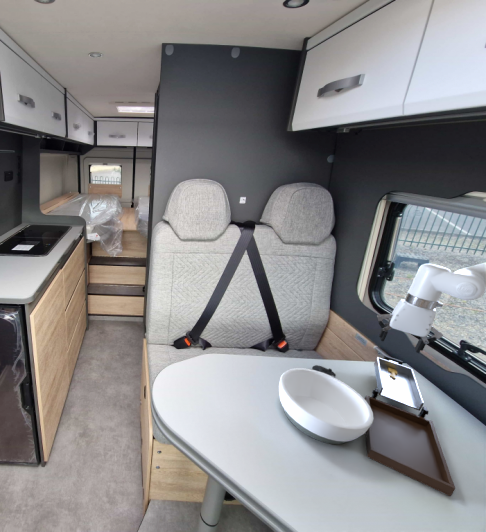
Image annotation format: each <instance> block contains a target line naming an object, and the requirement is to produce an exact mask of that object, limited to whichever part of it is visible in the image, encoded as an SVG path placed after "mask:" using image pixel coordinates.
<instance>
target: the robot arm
mask: <svg viewBox="0 0 486 532" xmlns="http://www.w3.org/2000/svg"><path fill="white" fill-rule="evenodd" d="M443 294H446V295H448V296H451V297H453V298H455V299H458V300H463V301H475V300H478V299H480V298H481V297H483V296H484V295H485V294H486V261H485V262H481V263H477V264H474V265H471V266H467V267H464V268H463V267H462V268H460V269H457V270H456V271H454V272H453V271H452V270H451V269H450V268H447V267H445V266H442V265H439V264H435V263H423V264H421V265H420V266H419V268H418V269H417V272H416V274H415V276H414V278H413V280H412V282H411V285H410V287H409V289H408V291H407V293H406V295H405V298H401V299H399V301H398V302H397V304H395V307H394V308H393V310H392V312H391V313H383V314H377V315H376V317H377V322H378V325H379V326H380V328H381V330H380V332H379V334H378V337H379V339H380V342H385V339H386V338H387V336H388V333H389V332H388V331H389V330H392V329H394V330H396V331H400V332H403V333H407V334H410V335H413V336H416V337H420V338H419V339H418V341H417V343H416V345H415V347H414V350H415V352H416V354H420V353H421V352H423V350H424V349H425V347H426V345H428V344H430V343H433V342H436V341H437V340H439V339H441V338H443V337H444V334H443V333H442V332H441V331H439V329H437V328H436V327H434V326H433V325H434V322H435V318H436V314H437V309H436V308H443V306H444V303H443V302H440V299H441V296H442V295H443ZM387 319H388V321H387V322H386V323H385V322H384V321H383V320H387ZM430 332H431V333H433V335H430V336H429V334H430Z"/></svg>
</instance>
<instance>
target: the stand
mask: <svg viewBox="0 0 486 532" xmlns="http://www.w3.org/2000/svg"><path fill="white" fill-rule="evenodd" d="M378 393H379V391H378V387H375V388H374V389H372V391H371V396H370V397H372V398H375V399H377V397H378V396H379V394H378ZM429 412H430V411H429V410H428V408H427V407H426V406H424V405H423V406H422V408H421V410H420V411H419V413H418V414H417V415H418V416H421V417H423V418H425V417H426V416H427V415H429Z"/></svg>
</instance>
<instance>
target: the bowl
mask: <svg viewBox="0 0 486 532" xmlns="http://www.w3.org/2000/svg"><path fill="white" fill-rule="evenodd" d="M278 394H279V401H280V403H281V407H282V409H283V412H284V414H285V416H286V417H287V419H288V420H289V421H290V423H292V425H293V426H294V427H295V428H296V429H298V430H299V431H300V432H302V433H303V434H305V435H306V436H308V437H310V438H312V439H314V440H317V441H319V442H321V443H325V444H330V445H340V444H344V443H348V442H352V441H354V440H356V439H358V438H360V437H361V436H363V435H364V434H365V432H366V431H367V430H368V429H369V427H370V426H371V424H372V422H373V419H374V418H373V412H372V410H371V407H370V406H369V404H368V403H367V401H366V400H365V397H363V396H362V395H361V394H360V393H359V392H358V391H356V390H355V389H354V388H353V387H351V386H350V385H348V384H347V383H346V382H344V381H342V380H340V379H339V378H337V377H335V378H334V377H332V376H330V375H328V374H325V373H322V372H319V371H316V370H313V369H312V368H305V367H304V368H303V367H297V368H294V367H293V368H290V369H287V370H285V371H284V372H283V373H282V374H281V376H280V379H279V383H278Z"/></svg>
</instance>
